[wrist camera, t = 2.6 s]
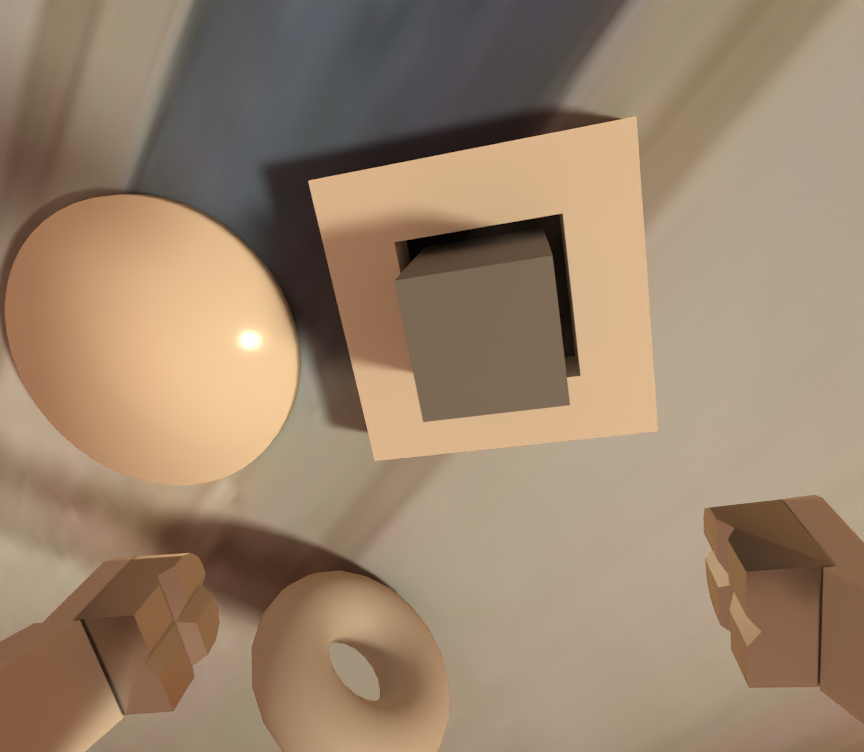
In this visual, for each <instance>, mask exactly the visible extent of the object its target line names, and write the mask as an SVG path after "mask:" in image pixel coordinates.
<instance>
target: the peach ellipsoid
mask: <svg viewBox="0 0 864 752" xmlns="http://www.w3.org/2000/svg"><path fill="white" fill-rule="evenodd" d="M5 323H6V331H7V338H8V342H9V346H10V350H11V354H12V357H13V360H14V362H15V365H16V368H17V371H18V373H19V375H20V377H21V379H22V381H23V383H24V385H25V387H26V389H27V391H28V392H29V394H30V396H31V397H32V399H33V400H34V402H35V404H36V405H37V406H38V408H39V409H40V410H41V412H42V413H43V414H44V415H45V417H46V418H47V419H48V421H49V422H50V423H51V424H52V425H53V426H54V427H55V428H56V429H57V430H58V431H59V432H60V433H61V434H62V435H63V436H64V437H65V438H66V439H67V440H69V441H70V442H71V443H72V444H73V445H74V446H75V447H77V448H78V449H79V450H81V451H82V452H84V453H85V454H87V455H88V456H89V457H91V458H92V459H94V460H96V461H98V462H99V463H101V464H103V465H105V466H106V467H108V468H110V469H113V470H115V471H117V472H120V473H122V474H124V475H127V476H130V477H133V478H136V479H139V480H143V481H148V482H153V483H158V484H167V485H194V484H200V483H206V482H211V481H214V480H217V479H220V478H223V477H226V476H228V475H230V474H232V473H234V472H237V471H239V470H240V469H242V468H243V467H245V466H246V465H248V464H249V463H251V462H252V461H253V460H254V459H256V458H257V457H258V456H259V455H260V454H261V453H262V452H263V451H264V450H265V449H266V448H267V447H268V445H269V444H270V443H271V442H272V441H273V439H274V438H275V437H276V435H277V434H278V433H279V432H280V430H281V429H282V428H283V426H284V424H285V422H286V420H287V419H288V417H289V415H290V413H291V410H292V408H293V405H294V402H295V400H296V396H297V391H298V387H299V382H300V369H301V357H300V343H299V338H298V333H297V328H296V324H295V321H294V318H293V315H292V312H291V309H290V306H289V304H288V302H287V300H286V298H285V295H284V293H283V291H282V289H281V287H280V285H279V284H278V282H277V281H276V279H275V277H274V276H273V274H272V273H271V271H270V269H269V268H268V267H267V266H266V264H265V263H264V262H263V261H262V259H261V258H260V257H259V256H258V254H257V253H256V252H255V251H254V250H253V249H252V248H251V247H250V246H249V245H248V244H247V243H246V242H245V241H244V240H243V239H242V238H241V237H240V236H238V235H237V234H236V233H235V232H233V231H232V230H231V229H230V228H228V227H227V226H226V225H224V224H223V223H221V222H220V221H218V220H217V219H215V218H213V217H212V216H210V215H208V214H207V213H205V212H203V211H201V210H199V209H196V208H194V207H192V206H190V205H188V204H185V203H182V202H179V201H176V200H172V199H169V198H166V197H160V196H154V195H148V194H119V195H111V196H103V197H95V198H90V199H87V200H83V201H80V202H76V203H74V204H71V205H69V206H67V207H65V208H63V209H61V210H59V211H57V212H56V213H54V214H53V215H52V216H50V217H49V218H47V219H46V220H44V221H43V222H42V223H41V224H40V225H39V226H38V227H37V228H36V229H35V230H34V231H33V232H32V233H31V234H30V236H29V237H28V239H27V240H26V241H25V243H24V244H23V246H22V247H21V249H20V251H19V253H18V255H17V257H16V259H15V261H14V263H13V266H12V269H11V272H10V275H9V279H8V283H7V290H6V296H5Z"/></svg>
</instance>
